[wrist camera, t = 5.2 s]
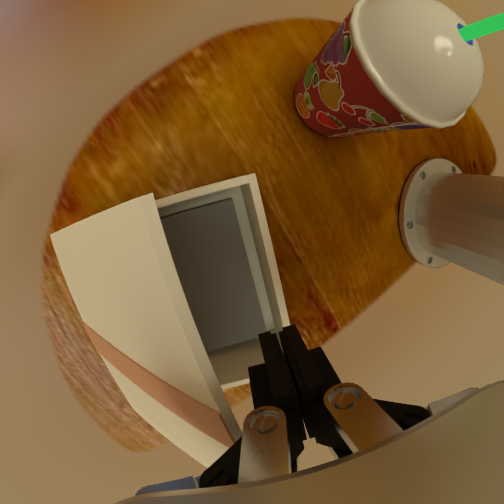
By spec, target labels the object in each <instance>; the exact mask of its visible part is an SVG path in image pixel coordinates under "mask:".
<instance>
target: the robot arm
mask: <svg viewBox="0 0 504 504" xmlns="http://www.w3.org/2000/svg"><path fill="white" fill-rule="evenodd" d="M399 223H400V231H401V236H402V240H403V242H404V245H405V248H406V249H407V251H408V253H409V254H410V256H411V257H412V258H413V259H414V260H415V261H417V262H418V263H420V264H422V265H424V266H426V267H430V268H438V267H442V266H444V265H447V264H448V263H450V262H453V263H455V264H457V265H460V266H462V267H465V268H467V269H469V270H471V271H474V272H476V273H478V274H480V275H483V276H485V277H487V278H489V279H491V280H494V281H496V282H498V283H500V284H502V285H504V177H500V176H490V175H478V174H464V173H462V171H461V170H460V169H459V168H458V167H457V166H456V165H455V164H454V163H452V162H451V161H449V160H446V159H438V158H435V159H428V160H426V161H424V162H422V163H421V164H419V165H418V166H417V167H416V168H415V169H414V170H413V172H412V173H411V174H410V176H409V178H408V180H407V182H406V184H405V186H404V189H403V192H402V196H401V202H400V210H399ZM282 330H283V331H280V332H278V333H279V337H280V342H281V346H282V349H281V346H280V343H279V340H278V338H277V335H276V333H273V334H271V332H270V331H268V332H264V333H260V334H258V337H259V341H260V345H261V350H262V354H263V358H264V362H265V363H262V364H258V365H254V366H250V367H248V373H249V379H250V386H251V392H252V398H253V404H254V410H253V411H251V412H250V413H249V414H248V415H247V416H246V418H245V420H244V423H243V433H242V436H241V437H240V438H239V439H238V440H237V441H236V442H235V443H234V444H233V445H232V446H231V447H230V448H229V449H228V450H227V451H226V452H225V453H224V454H223V455H222V456H221V457H219V458H218V459H217V460H216V461H215V462H214V463H213V464H212V465H211V466H210V467H209V468H207V469H206V470H205V471H204V472H203V474H202V475H201V476H199V477H195V478H194V477H193V476H190V477H186V478H182V479H177V480H173V481H169V482H164V483H159V484H154V485H148V486H145V487H142V488H141V489H140V490H138V491H137V493H136V495H135V496H133V497H130V498H127V499H124V500H121V501H119V502H117V503H115V504H504V380H503V381H498V382H495V383H492V384H489V385H486V386H484V387H482V388H480V389H479V388H469V389H466V390H463V391H461V392H458V393H456V394H453V395H451V396H448V397H446V398H443V399H440V400H438V401H435V402H432V403H429V404H428V407H425V408H423V407H420V406H415V405H409V404H401V403H395V402H389V401H383V400H377V399H372V398H371V397H370V396H369V395H368V394H367V392H366V391H365V390H363V389H362V387H360V386H359V385H357V384H354V383H341V381H340V379H339V378H338V376H337V374H336V372H335V371H334V369H333V367H332V365H331V364H330V362H329V360H328V358H327V357H326V355H325V353H324V352H323V350H322V348H321V347H317V348H314V349H311V350H307V348H306V346H305V344H304V342H303V340H302V338H301V336H300V334H299V332H298V330H297V328H296V326H295V324H293V325H289V326H286V327H282ZM282 350H283V352H282ZM283 354H284V355H283ZM303 421H304V423H305V426H306V429H307V432H308V435H309V437H310V438H313V437H315V439H316V442H317V443H320V444H322V445H325V446H328V447H329V449H330V452H331V453H332V455H333V456H334V458H335V459H336V460H334V461H331V462H328V463H325V464H321V465H318V466H315V467H312V468H308V469H305V470H301V471H299V467H298V459H297V457H298V456H299V455H300V454H301V452H302V451H303V449H304V444H303V440H307V438H306V433H305V428H304V423H303Z"/></svg>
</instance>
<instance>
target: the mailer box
mask: <svg viewBox="0 0 504 504" xmlns="http://www.w3.org/2000/svg"><path fill="white" fill-rule="evenodd" d="M155 202H156V206H157V210H158V213H159V217H160V220H161V224H162V227H163V230H164V234H165V237H166V240H167V243H168V247H169V250H170V253H171V256H172V259H173V262H174V265H175V268H176V271H177V274H178V277H179V280H180V283H181V286H182V289H183V292H184V295H185V298H186V300H187V303H188V306H189V309H190V311H191V314H192V317H193V320H194V322H195V325H196V327H197V330H198V333H199V335H200V338H201V340H202V343H203V345H204V348H205V350H206V353H207V355H208V358H209V360H210V363H211V365H212V368H213V370H214V372H215V375H216V377H217V379H218V382H219V384H220V386H221V389H227V388H231V387H235V386H239V385H243V384H247V383H250V379H249V373H248V367H250V366H254V365H258V364H262V363H265V362H264V358H263V354H262V350H261V345H260V341H259V337H258V334H260V333H264V332H268V331H270V332H271V334H273V333H276V335H277V338H278V340H279V343H280V346H281V342H280V337H279V333H278V332H280V331H283V330H282V327H286V326H289V325H290V323H289V318H288V313H287V309H286V304H285V300H284V295H283V290H282V286H281V281H280V277H279V272H278V268H277V264H276V259H275V255H274V250H273V246H272V242H271V237H270V233H269V229H268V224H267V220H266V216H265V212H264V207H263V203H262V199H261V195H260V191H259V187H258V183H257V178H256V174H255V173H254V174H249V175H244V176H240V177H236V178H232V179H228V180H224V181H220V182H216V183H213V184H209V185H205V186H202V187H198V188H194V189H191V190H187V191H184V192H180V193H177V194H174V195H170V196H167V197H164V198H161V199H157V200H155ZM281 349H282V346H281ZM282 352H283V350H282ZM283 355H284V354H283Z"/></svg>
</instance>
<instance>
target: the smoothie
mask: <svg viewBox="0 0 504 504" xmlns="http://www.w3.org/2000/svg"><path fill="white" fill-rule="evenodd" d="M503 29H504V13H501V14H498V15H495V16H492V17H489V18H486V19H483V20H481V21H478V22H476V23H473V24H470V25H467V24H466V23H465V22H464V21H463V19H462V18H461V17H460V16H459V15H458V14H457V13H455V12H454V11H453V10H452V9H451V8H449V7H448V6H446V5H445V4H443V3H441V2H439V1H438V0H358V1H357V2H356V3H355V5H354V6H353V8H352V11H351V12H350V13H349V15H348V16H347V17H346V18H345V20H344V21H343V22H342V23H341V25H340V26H339V27H338V28H337V30H336V31H335V32H334V34H333V35H332V36H331V38H330V39H329V40H328V41H327V43H326V44H325V45H324V47H323V48H322V49H321V51H320V52H319V53H318V55H317V56H316V57H315V59H314V60H313V61H312V63H311V64H310V66H309V67H308V68H307V70H306V71H305V72H304V74H303V75H302V77H301V78H300V79H299V81H298V82H297V84H296V88H295V92H294V96H295V105H296V108H297V110H298V112H299V114H300V116H301V118H302V119H303V120H304V121H305V123H306V124H307V125H308V126H309V127H310V128H312V129H313V130H315V131H316V132H317V133H320V134H322V135H325V136H328V137H346V136H353V135H360V134H368V133H376V132H385V131H395V130H406V129H418V128H430V127H433V128H445V127H449V126H454V125H455V124H456V123H457V122H458V121H459V120H460V119H461V118H462V117H463V116H464V115H465V112H466V109H467V108H468V107H470V106H471V105H472V104H473V102H474V101H475V100H476V99H477V97H478V95H479V93H480V90H481V86H482V82H483V78H484V62H483V56H482V53H481V49H480V46H479V44H478V42H477V39H476V38H478V37H481V36H484V35H487V34H490V33H493V32H496V31H499V30H503Z"/></svg>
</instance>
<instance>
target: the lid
mask: <svg viewBox="0 0 504 504" xmlns="http://www.w3.org/2000/svg"><path fill="white" fill-rule="evenodd" d="M50 237H51V240H52V243H53V246H54V250H55V253H56V255H57V258H58V261H59V264H60V267H61V270H62V272H63V275H64V278H65V280H66V283H67V285H68V288H69V290H70V293H71V295H72V297H73V300H74V302H75V304H76V307H77V309H78V311H79V313H80V316H81V318H82V320H83V322H82V323H83V325H84V327H85V329H86V331H87V333H88V335H89V337H90V339H91V341H92V343H93V345H94V347H95V349H96V350H97V351H98V352H99V353H100V355H101V357H102V359H103V361H104V362H105V364H106V366H107V368H108V369H109V371H110V373H111V375H112V376H113V378H114V380H115V381H116V383H117V384H118V386H119V388H120V389H121V391H122V392H123V394H124V395H125V397H126V399H127V400H128V402H129V403H130V405H131V406H132V407H133V409H134V410H135V411H136V412H137V413H138V414H139V415H140V416H141V417H142V418H143V419H145V420H146V421H147V422H148V423H149V424H150V425H152V426H153V427H154V428H155V429H156V430H157V431H159V432H160V433H161V434H162V435H164V436H165V437H166V438H167V439H169V440H170V441H171V442H172V443H174V444H175V445H176V446H178V447H179V448H180V449H182V450H183V451H184V452H186V453H187V454H188V455H190V456H191V457H192V458H194V459H195V460H197V461H198V462H200V463H201V464H203V465H204V466H206V467H207V468H209V467H210V466H211V465H212V464H213V463H214V462H215V461H216V460H217V459H218V458H219V457H221V456H222V455H223V454H224V453H225V452H226V451H227V450H228V449H229V448H230V447H231V446H232V445H233V444H234V443H235V442H236V441H237V440H238V439H239V438H240V437H241V436H242V432H241V430H240V428H239V426H238V424H237V421H236V419H235V417H234V415H233V413H232V411H231V409H230V406H229V404H228V402H227V400H226V398H225V395H224V393H223V391H222V389H221V386H220V384H219V382H218V379H217V377H216V375H215V372H214V370H213V368H212V365H211V363H210V360H209V358H208V355H207V353H206V350H205V348H204V345H203V343H202V340H201V338H200V335H199V333H198V330H197V327H196V325H195V322H194V320H193V317H192V314H191V311H190V309H189V306H188V303H187V300H186V298H185V295H184V292H183V289H182V286H181V283H180V280H179V277H178V274H177V271H176V268H175V265H174V262H173V259H172V256H171V253H170V250H169V247H168V243H167V240H166V237H165V234H164V230H163V227H162V224H161V220H160V217H159V213H158V210H157V206H156V202H155V199H154V195H153V193H150V194H147V195H144V196H140V197H137V198H135V199H132V200H130V201H127V202H124V203H122V204H119V205H117V206H114V207H112V208H109V209H107V210H105V211H102V212H100V213H97V214H95V215H93V216H90V217H88V218H86V219H83V220H81V221H79V222H77V223H74V224H72V225H70V226H68V227H66V228H63V229H61V230H59V231H57V232H55V233H53V234H51V235H50Z"/></svg>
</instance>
